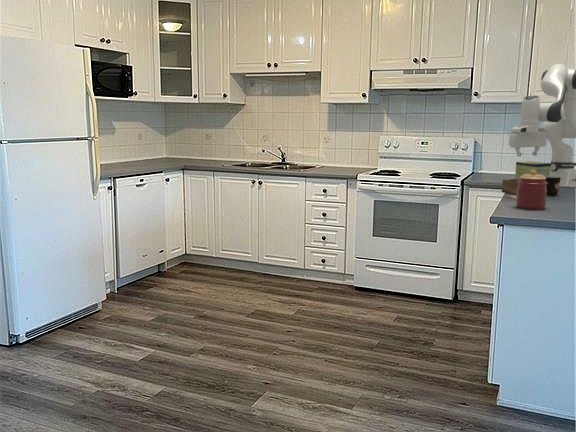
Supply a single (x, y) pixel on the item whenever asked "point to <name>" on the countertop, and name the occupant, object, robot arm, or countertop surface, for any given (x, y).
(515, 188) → the open wooden box
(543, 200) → the canister
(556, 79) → the robot arm
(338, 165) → the countertop surface
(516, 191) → the lid
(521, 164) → the protein box
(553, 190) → the coffee mug
